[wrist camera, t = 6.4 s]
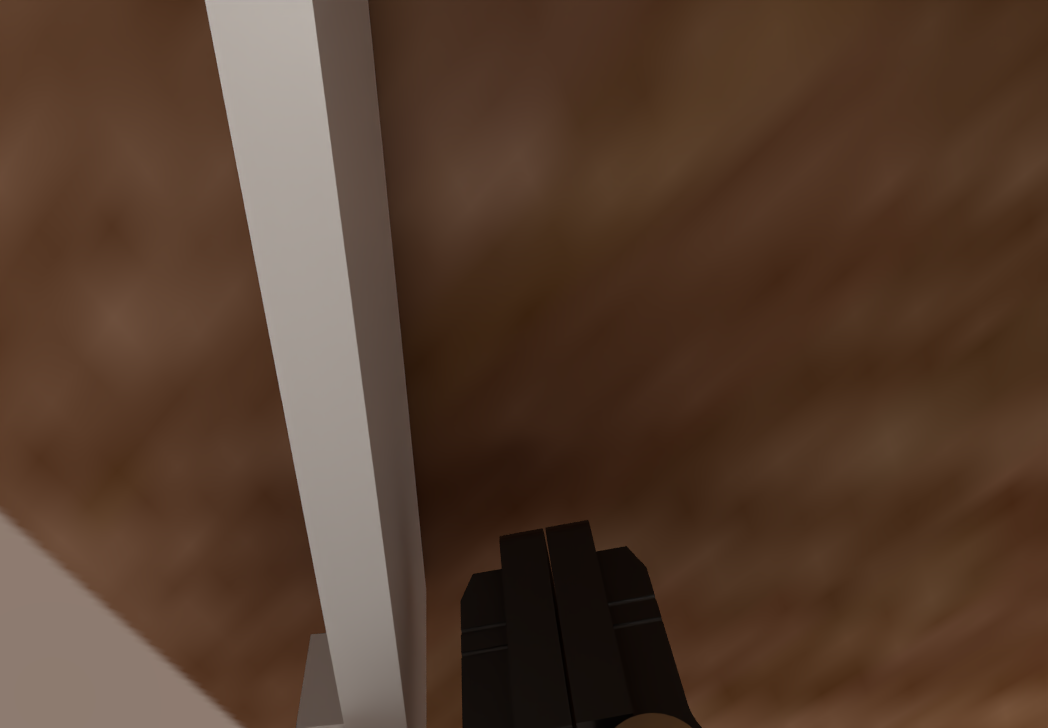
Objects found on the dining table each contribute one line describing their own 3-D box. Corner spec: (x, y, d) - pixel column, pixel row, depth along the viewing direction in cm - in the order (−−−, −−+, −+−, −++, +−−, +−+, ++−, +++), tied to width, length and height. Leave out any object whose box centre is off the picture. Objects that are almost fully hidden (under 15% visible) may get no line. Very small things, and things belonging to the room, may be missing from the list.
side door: (435, 591, 17) (439, 877, 12) (330, 600, 17) (289, 895, 12) (366, -168, 10) (309, -257, 5) (189, -168, 10) (-53, -261, 5)
